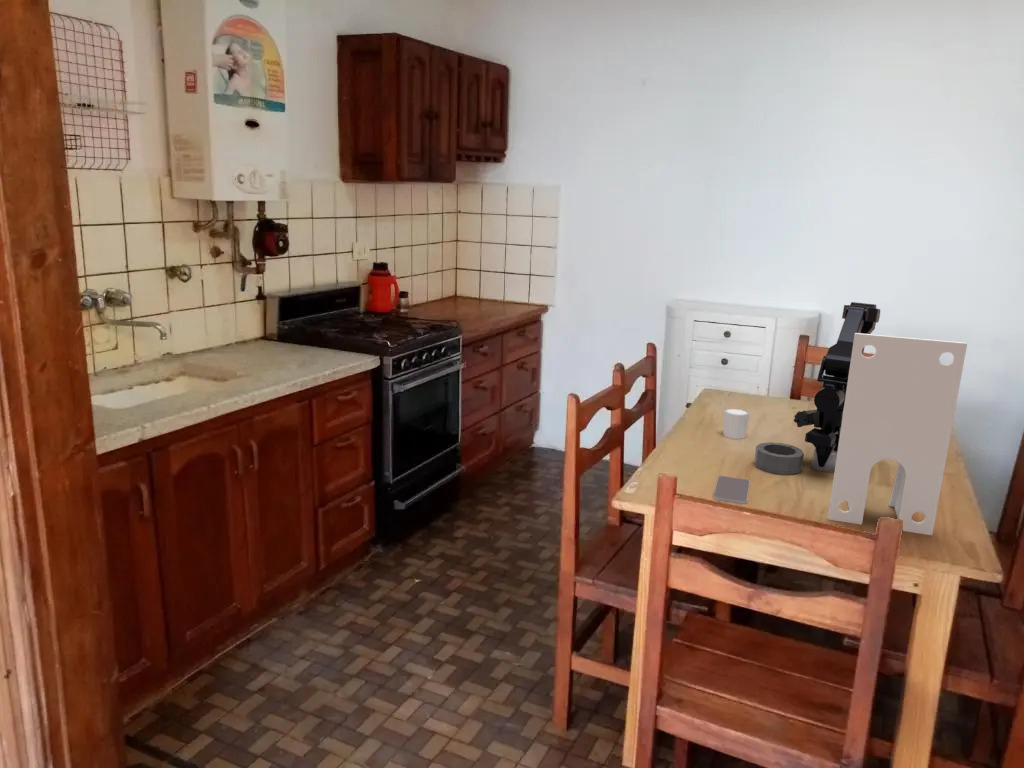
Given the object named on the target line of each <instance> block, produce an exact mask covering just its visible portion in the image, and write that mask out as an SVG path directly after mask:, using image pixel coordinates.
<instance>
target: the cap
mask: <svg viewBox="0 0 1024 768" xmlns="http://www.w3.org/2000/svg"><path fill="white" fill-rule="evenodd" d="M812 456H813V457H812V463H811V467H812V468H813V469H814V470H817V471H821V472H827V473H828V472H829V473H832V472H833V473H834V472H835V465H836V458H837V451H834V450H833V451H832V453H831V455H830V457H829V458H828V460H827V462H826V464H825V465H824V467H819V465H818V459H817V453H816V448H815V449H813V455H812Z"/></svg>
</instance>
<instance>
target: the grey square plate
mask: <svg viewBox="0 0 1024 768" xmlns="http://www.w3.org/2000/svg"><path fill="white" fill-rule="evenodd" d="M750 484H751V480H749V479H745V478H740V477H732V476H724V475H719V476H718V477H717V480H716V483H715V488H714V491H713V496H712V499H713V498H715V499H719V500H717V501H718V502H724V503H731V502H734V503H733V504H737V503H738V504H739V505H746V504H747V503H748V498H749V490H750ZM715 499H714V500H715ZM723 500H724V501H723ZM726 501H727V502H726Z"/></svg>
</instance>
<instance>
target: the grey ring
mask: <svg viewBox="0 0 1024 768" xmlns="http://www.w3.org/2000/svg"><path fill="white" fill-rule="evenodd" d="M804 457H805V453H804V451H803V449H801V448H800V447H797V446H795V445H791V444H789V443H788V444H786V443H782V442H771V441H769V442H762V443H761V442H760V443H759V444H757V445H755V452H754V466H755V467H756V468H757V469H759V470H761V471H763V472H766V473H770V474H774V475H781V476H782V475H783V476H790V475H791V476H793V475H797V474H799V473H801V471H802V468H803V463H804Z"/></svg>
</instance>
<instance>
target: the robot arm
mask: <svg viewBox="0 0 1024 768" xmlns="http://www.w3.org/2000/svg"><path fill="white" fill-rule="evenodd" d="M880 317H881V308H877V304H873V303H865V302H863V303H862V302H856V301H855V302H854V301H852V302H850V304H848V305H847V304H844V305H843V310H842V316H841V319H843V320H844V321H843V323H842V327H841V330H840V332H839V336H838V339H837V340H836V343H835V344H833V345H832V346H829V348H828V349H827V352H826V354H825V355H823V357H822V360H821V364H820V368H819V371H818V374H817V379H816V381H817V382H818V383H819V382H820V383H822V384H823V385H822V387H821V389H819V390H818V391H817V393H816V394H815V395H814V398H813V404H814V406H815V407H816V409H808V410H802V411H797V412H796V414H794V416H793V417H794V419H793V422H794V423H796V426H797V428H803V427H805V426H813V428H812V429H811V430H809V431H807V432H806V433H805V436H804V441H805V443H810V444H812V445H813V446H814V447H815V449H816V453H817V459H818V465H819V467H824V465H825V464H826V462H827V460H828V458H829V457H830V455H831V453H832V451H833V450H834V451H838V445H839V438H840V431H841V424H842V417H843V410H844V404H845V397H846V390H847V383H848V376H849V369H850V363H851V356H852V349H853V342H854V335H855V333H862V334H873V331H875V329H876V326H877V325H876V324H877V323H879V321H880ZM865 348H866V346H865V347H864V348H863V349H862V354H863V355H864V351H865Z"/></svg>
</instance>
